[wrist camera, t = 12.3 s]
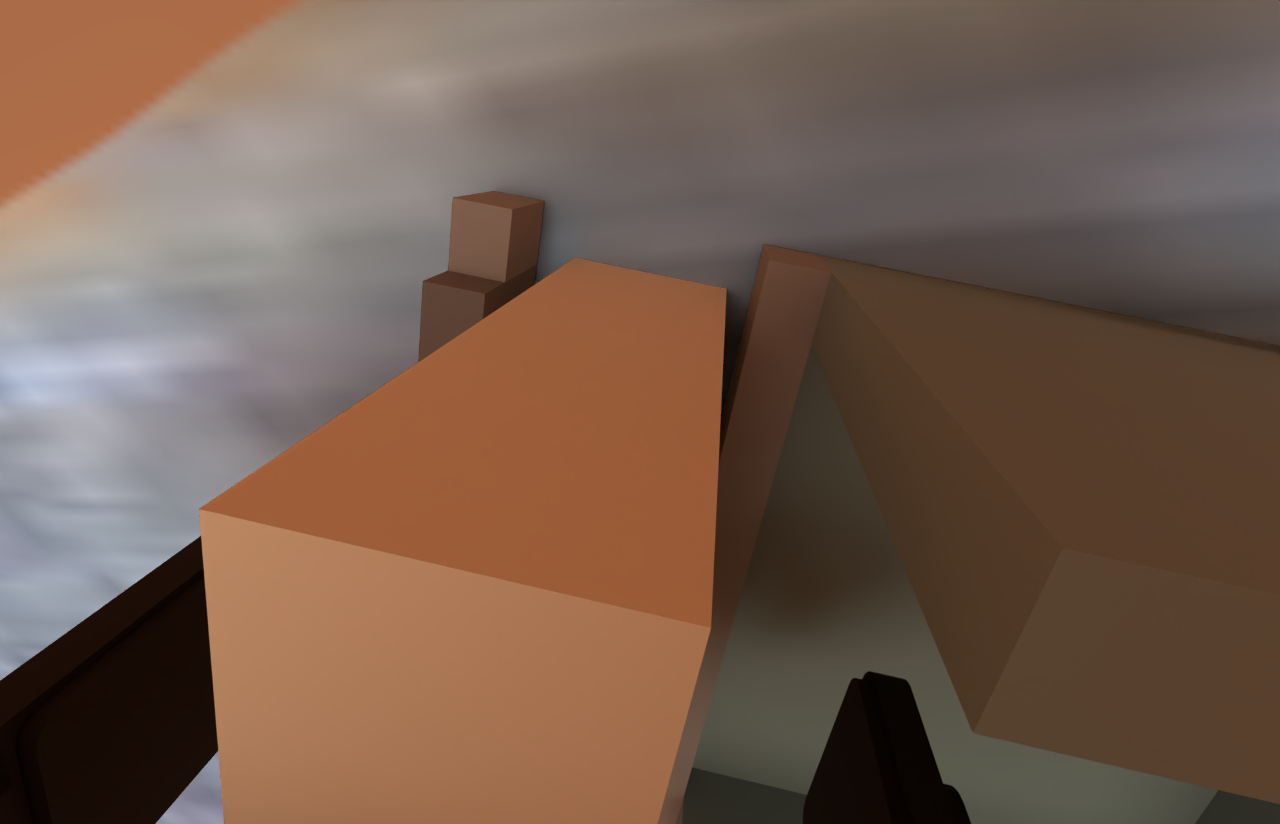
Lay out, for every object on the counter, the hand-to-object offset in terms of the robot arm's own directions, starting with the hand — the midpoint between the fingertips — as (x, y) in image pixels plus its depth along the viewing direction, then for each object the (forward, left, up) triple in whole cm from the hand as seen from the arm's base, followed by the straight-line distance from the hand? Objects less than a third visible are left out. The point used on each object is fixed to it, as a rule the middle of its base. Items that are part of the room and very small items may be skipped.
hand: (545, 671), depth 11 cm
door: (0, 0, -5) cm, 5 cm away
